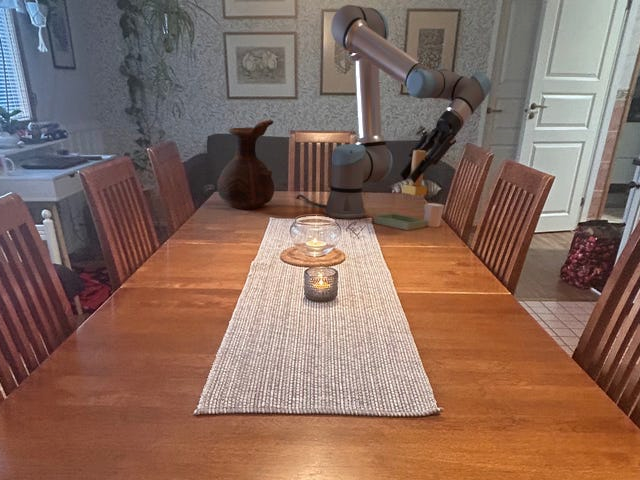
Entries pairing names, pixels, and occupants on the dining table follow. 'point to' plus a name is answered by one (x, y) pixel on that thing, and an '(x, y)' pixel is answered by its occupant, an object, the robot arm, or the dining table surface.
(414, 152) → the wooden peg on base
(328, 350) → the dining table surface
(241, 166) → the jug
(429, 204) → the white cup
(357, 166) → the robot arm
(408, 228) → the tray
